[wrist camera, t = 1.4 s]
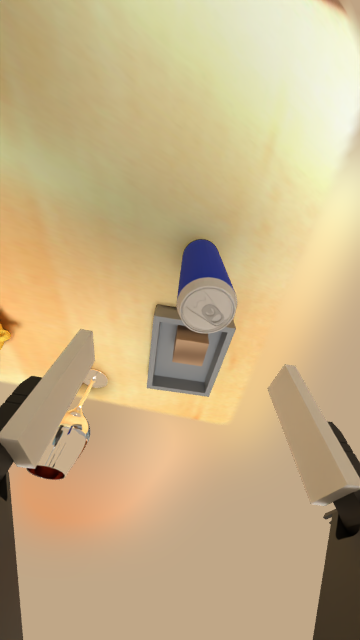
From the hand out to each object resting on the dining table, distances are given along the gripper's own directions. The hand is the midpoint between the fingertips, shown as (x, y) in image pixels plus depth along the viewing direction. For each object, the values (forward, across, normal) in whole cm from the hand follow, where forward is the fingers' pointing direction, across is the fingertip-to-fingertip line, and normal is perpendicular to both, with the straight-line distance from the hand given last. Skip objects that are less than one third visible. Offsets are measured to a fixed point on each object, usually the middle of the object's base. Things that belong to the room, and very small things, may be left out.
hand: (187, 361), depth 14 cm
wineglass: (+19, -16, -30) cm, 39 cm away
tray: (+19, +3, -16) cm, 25 cm away
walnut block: (+18, +3, -12) cm, 22 cm away
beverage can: (+19, +1, +2) cm, 19 cm away
